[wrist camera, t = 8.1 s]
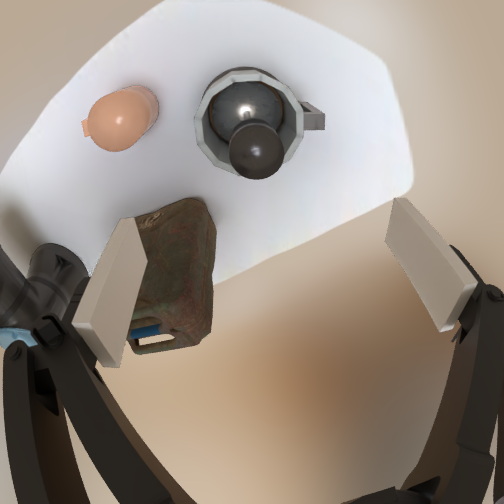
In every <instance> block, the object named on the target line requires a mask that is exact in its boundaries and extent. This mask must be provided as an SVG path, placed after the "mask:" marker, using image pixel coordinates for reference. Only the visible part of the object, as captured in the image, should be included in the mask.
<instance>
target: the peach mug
mask: <svg viewBox="0 0 504 504" xmlns="http://www.w3.org/2000/svg"><path fill="white" fill-rule="evenodd" d="M158 113H159V105H158V101H157V98H156V97H155V95H154V94H153V93H152V92H151V91H150V90H149V89H147V88H145V87H142V86H130V87H127V88H124V89H121V90H119V91H116V92H114V93H111V94H108V95H106V96H104V97H102V98H100V99H99V100H98V101H97V102H96V103H95V104H94V105H93V107H92V108H91V110H90V113H89V116H88V118H87V119H85V120H83V121H81V122H82V127H83V131H84V136H85V137H87V136H91V138H92V140H93V141H94V142H95V143H96V144H97V145H98V146H99V147H101V148H102V149H104V150H107V151H112V152H118V151H123V150H125V149H128V148H129V147H131V146H132V145H133V144H134V143H135V142H136V141H137V140H138V139H139V138H140V137H141V136H142V135H143V134H144V133H145V132H146V131H147V130H148V129H149V128H150V127H151V126H152V125H153V124H154V123H155V121H156V119H157V117H158Z"/></svg>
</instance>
